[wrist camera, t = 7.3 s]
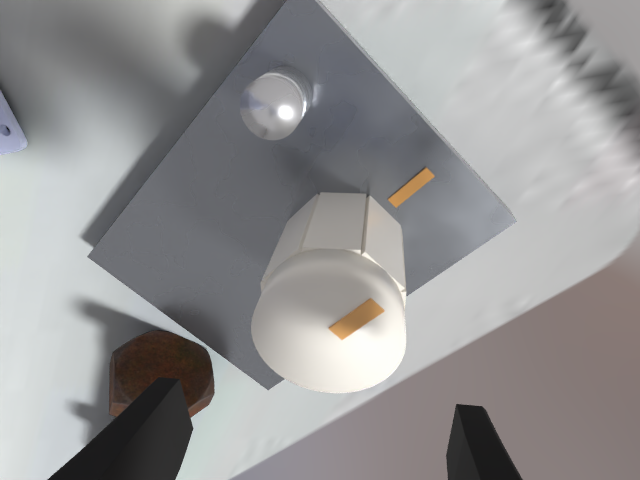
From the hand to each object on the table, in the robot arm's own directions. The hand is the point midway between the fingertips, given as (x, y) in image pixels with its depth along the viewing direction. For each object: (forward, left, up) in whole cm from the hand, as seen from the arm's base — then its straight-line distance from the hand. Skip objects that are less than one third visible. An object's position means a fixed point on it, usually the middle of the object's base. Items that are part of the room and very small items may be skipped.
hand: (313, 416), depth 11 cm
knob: (0, 0, -9) cm, 9 cm away
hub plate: (-1, -3, -10) cm, 10 cm away
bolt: (+12, -15, -10) cm, 22 cm away
